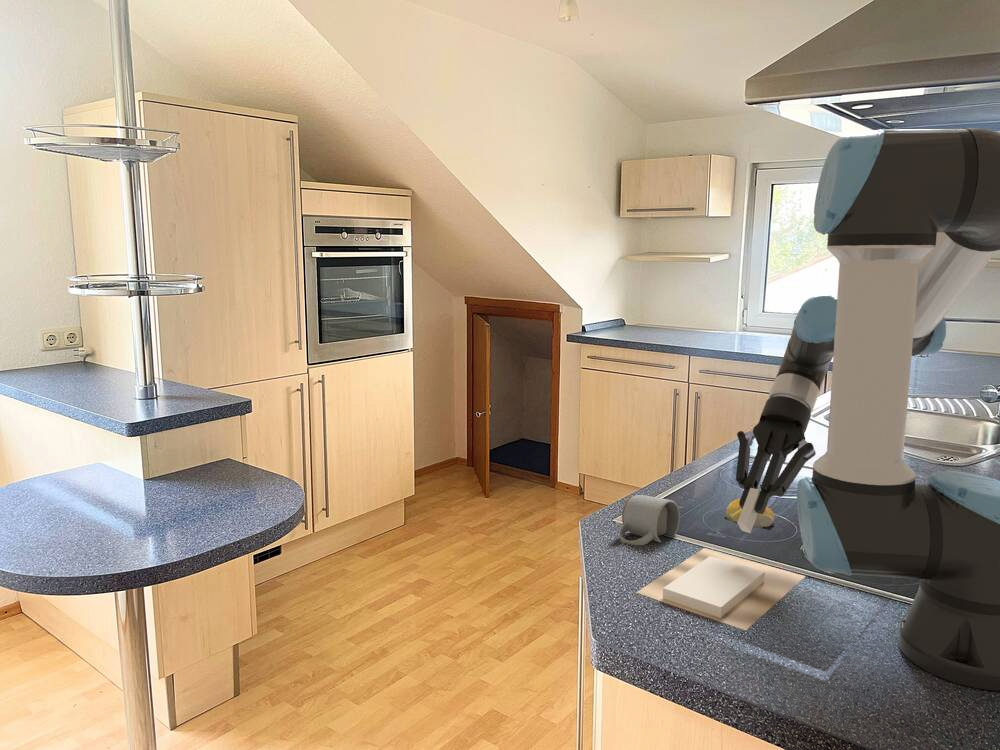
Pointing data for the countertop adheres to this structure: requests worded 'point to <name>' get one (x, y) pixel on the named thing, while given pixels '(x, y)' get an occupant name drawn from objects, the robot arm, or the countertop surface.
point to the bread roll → (761, 519)
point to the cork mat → (745, 610)
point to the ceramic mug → (649, 519)
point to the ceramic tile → (714, 586)
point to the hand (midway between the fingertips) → (743, 527)
